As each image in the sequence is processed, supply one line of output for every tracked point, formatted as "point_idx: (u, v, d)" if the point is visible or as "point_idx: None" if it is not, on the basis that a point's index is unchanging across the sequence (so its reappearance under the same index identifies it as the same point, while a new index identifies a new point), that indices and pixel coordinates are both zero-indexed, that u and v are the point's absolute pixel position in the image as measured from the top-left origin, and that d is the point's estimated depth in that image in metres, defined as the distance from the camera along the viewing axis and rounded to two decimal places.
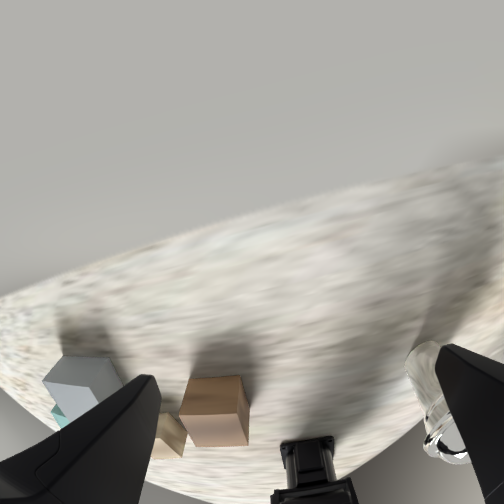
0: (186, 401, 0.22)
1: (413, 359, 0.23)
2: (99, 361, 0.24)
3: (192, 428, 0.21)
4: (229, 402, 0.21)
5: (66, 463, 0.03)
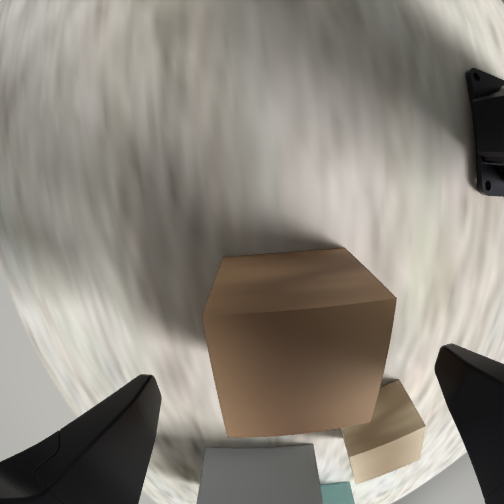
0: None
1: None
2: None
3: (283, 424, 0.08)
4: None
5: (66, 463, 0.03)
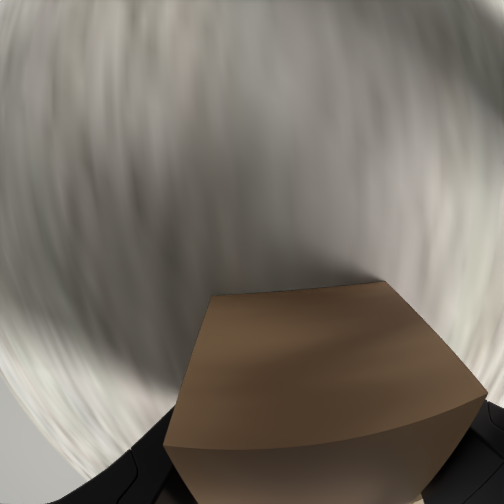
0: None
1: None
2: None
3: None
4: None
5: (150, 487, 0.03)
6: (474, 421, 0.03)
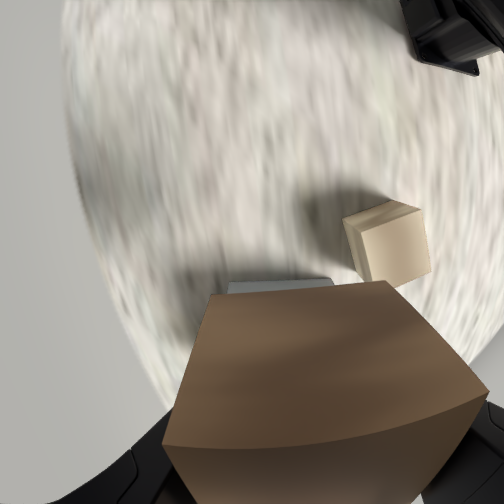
0: None
1: None
2: None
3: None
4: None
5: (151, 487, 0.03)
6: (474, 421, 0.03)
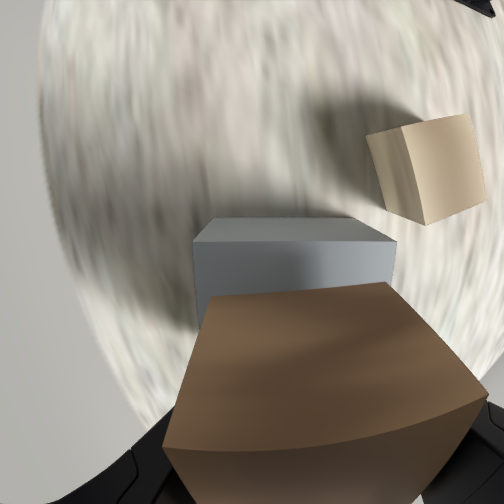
0: None
1: None
2: None
3: None
4: None
5: (150, 487, 0.03)
6: (474, 421, 0.03)
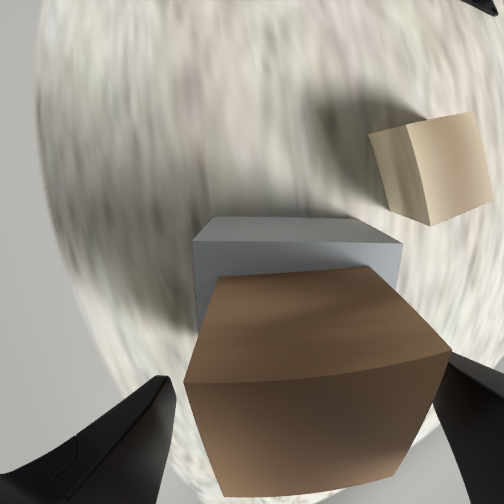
0: None
1: None
2: None
3: (291, 487, 0.06)
4: None
5: (85, 470, 0.03)
6: None
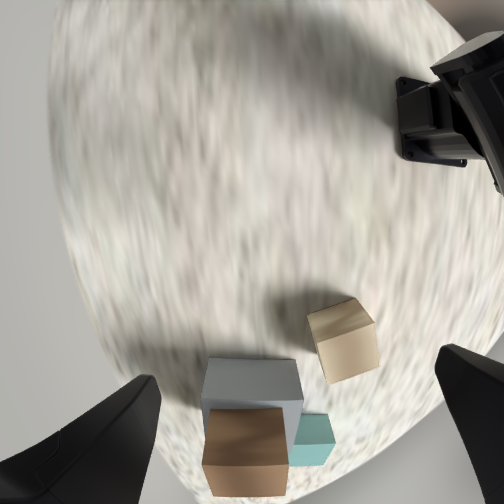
0: None
1: None
2: None
3: (239, 493, 0.14)
4: None
5: (66, 463, 0.03)
6: None
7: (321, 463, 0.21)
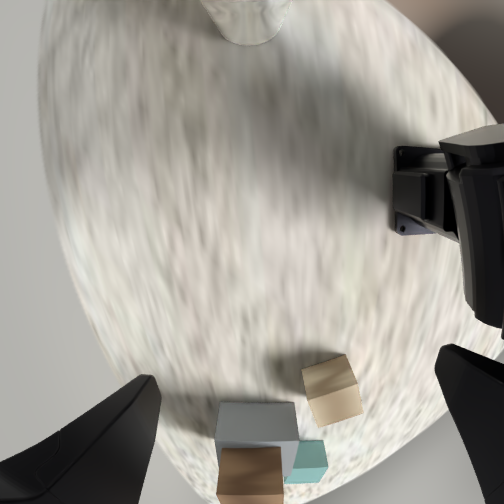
0: None
1: (231, 36, 0.15)
2: None
3: None
4: None
5: (66, 463, 0.03)
6: None
7: (317, 481, 0.23)
